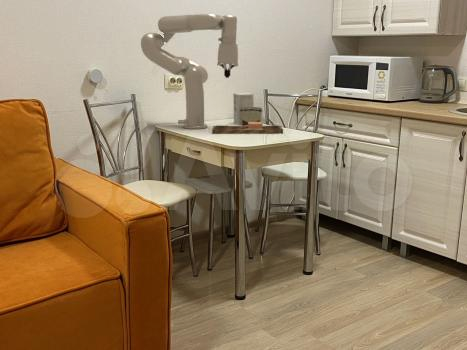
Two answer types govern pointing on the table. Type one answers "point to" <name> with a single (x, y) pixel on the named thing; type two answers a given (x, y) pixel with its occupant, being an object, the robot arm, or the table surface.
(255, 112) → the food container
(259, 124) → the block
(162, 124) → the table surface
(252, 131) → the track
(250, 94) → the supplement box
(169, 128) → the table surface
